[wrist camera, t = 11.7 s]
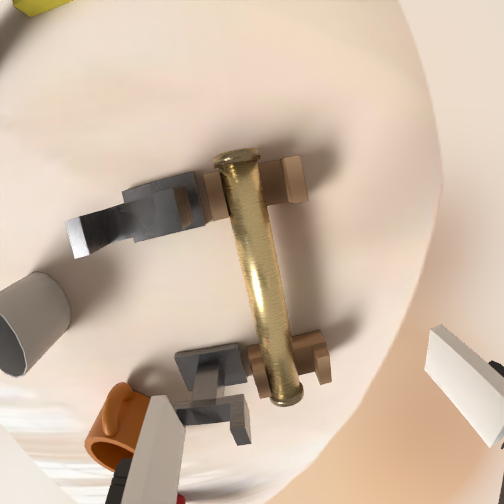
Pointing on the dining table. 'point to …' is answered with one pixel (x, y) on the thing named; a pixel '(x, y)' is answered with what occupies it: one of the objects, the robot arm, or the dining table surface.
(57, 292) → the cup
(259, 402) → the dining table surface
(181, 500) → the paper cup
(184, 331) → the dining table surface
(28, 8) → the ashtray
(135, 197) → the post
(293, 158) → the rest
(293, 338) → the rest
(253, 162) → the rail
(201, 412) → the post
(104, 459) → the mug
